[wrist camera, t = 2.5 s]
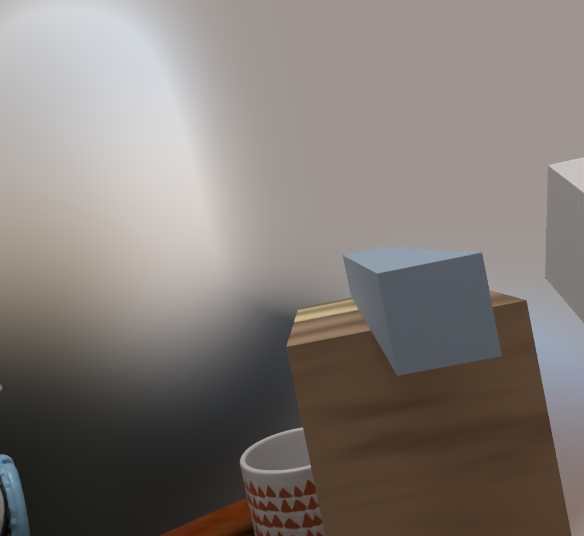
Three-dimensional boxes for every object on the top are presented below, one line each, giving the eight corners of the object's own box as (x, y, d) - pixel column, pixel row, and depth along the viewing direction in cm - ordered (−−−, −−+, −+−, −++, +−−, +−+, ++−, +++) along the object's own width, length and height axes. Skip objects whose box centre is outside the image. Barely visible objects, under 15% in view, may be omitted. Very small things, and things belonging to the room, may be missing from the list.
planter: (273, 602, 58) (249, 484, 58) (252, 541, 71) (232, 445, 71) (393, 560, 61) (370, 447, 61) (351, 509, 75) (333, 417, 74)
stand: (621, 799, 33) (526, 299, 32) (386, 833, 34) (286, 345, 33) (507, 589, 53) (446, 278, 52) (361, 613, 53) (298, 307, 53)
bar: (501, 355, 21) (482, 252, 21) (397, 375, 21) (376, 273, 21) (394, 289, 51) (386, 246, 51) (351, 297, 51) (342, 255, 51)
